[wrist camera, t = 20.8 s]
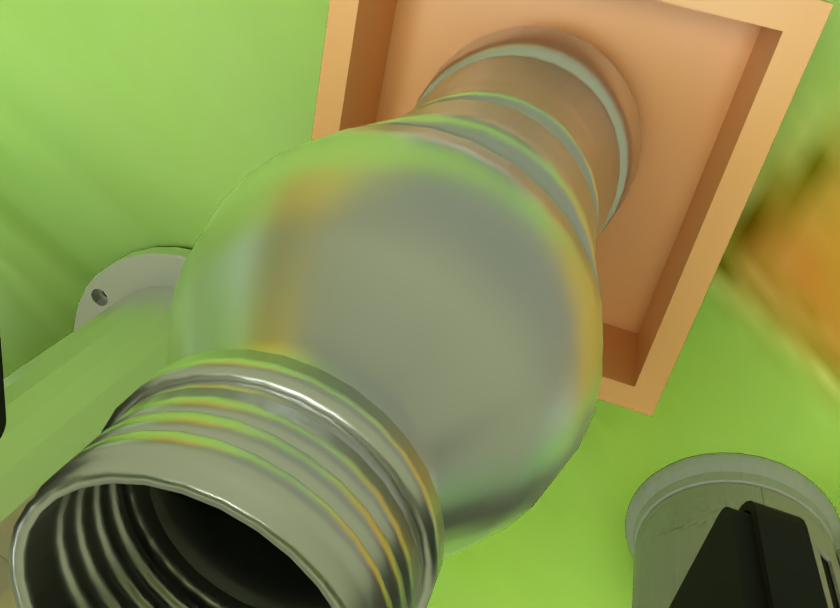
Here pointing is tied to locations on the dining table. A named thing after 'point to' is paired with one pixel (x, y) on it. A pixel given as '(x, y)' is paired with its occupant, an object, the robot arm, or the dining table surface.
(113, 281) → the robot arm
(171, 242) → the dining table surface
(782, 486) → the grey mug
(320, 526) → the plastic bottle
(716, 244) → the orange open tray
